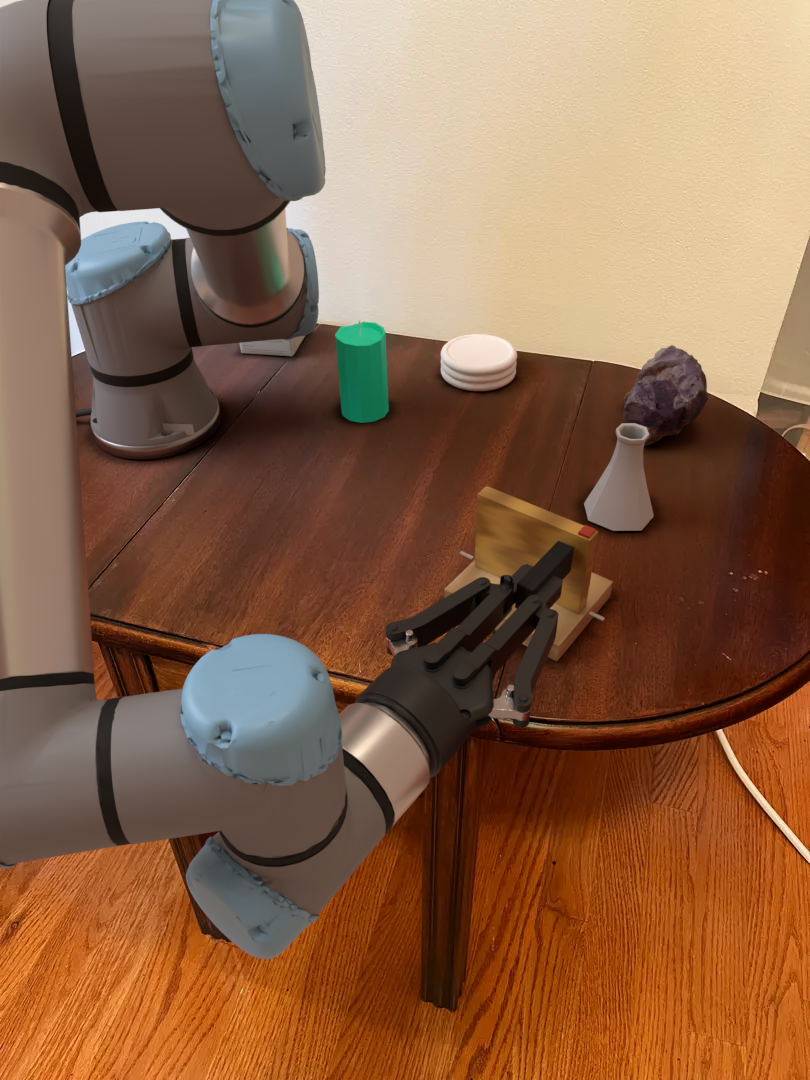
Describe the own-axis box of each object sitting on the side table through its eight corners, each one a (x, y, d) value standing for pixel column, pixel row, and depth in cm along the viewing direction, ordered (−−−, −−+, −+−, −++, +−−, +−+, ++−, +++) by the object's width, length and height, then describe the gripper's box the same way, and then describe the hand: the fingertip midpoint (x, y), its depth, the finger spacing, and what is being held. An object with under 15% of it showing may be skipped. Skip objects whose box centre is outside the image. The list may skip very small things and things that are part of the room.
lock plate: (413, 613, 77) (413, 596, 76) (502, 528, 86) (503, 512, 85) (558, 689, 70) (560, 672, 69) (638, 588, 79) (642, 571, 78)
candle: (391, 398, 107) (388, 309, 99) (386, 423, 102) (381, 332, 94) (345, 397, 107) (338, 308, 100) (337, 422, 103) (329, 331, 95)
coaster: (435, 358, 115) (435, 335, 112) (507, 353, 115) (508, 329, 113) (446, 395, 107) (446, 371, 105) (523, 390, 108) (525, 365, 105)
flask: (657, 498, 90) (674, 418, 83) (649, 539, 84) (667, 457, 78) (589, 486, 92) (601, 407, 85) (577, 526, 86) (589, 444, 80)
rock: (605, 448, 99) (692, 465, 96) (610, 391, 93) (703, 406, 89) (629, 389, 106) (711, 402, 103) (635, 331, 100) (723, 344, 96)
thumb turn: (474, 565, 79) (477, 491, 73) (482, 557, 80) (486, 483, 74) (578, 614, 74) (590, 538, 68) (586, 604, 75) (598, 529, 69)
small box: (308, 332, 122) (305, 299, 118) (293, 358, 116) (288, 323, 112) (257, 329, 123) (252, 295, 119) (239, 354, 117) (233, 320, 114)
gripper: (324, 728, 62) (497, 559, 76) (469, 823, 56) (628, 620, 70) (314, 661, 57) (501, 493, 71) (472, 756, 51) (642, 552, 65)
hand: (564, 556), depth 71 cm, fingers closed
